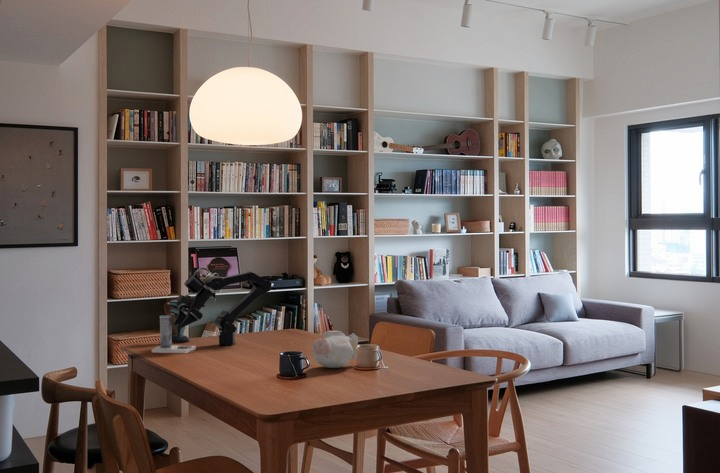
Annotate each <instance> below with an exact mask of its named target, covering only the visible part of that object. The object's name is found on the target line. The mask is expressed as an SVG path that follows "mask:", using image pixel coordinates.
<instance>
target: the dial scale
mask: <svg viewBox="0 0 720 473" xmlns="http://www.w3.org/2000/svg"><path fill="white" fill-rule="evenodd" d="M196 348H197V346H196V345H172V347H171V348H160V345H159V346H158V345H157V346H156V347H155V348H152V349H151V353H155V354H156V353H160V354H161V353H162V354H165V353H167V354H168V353H169V354H187V353H190V352H192V351H194V350H196Z"/></svg>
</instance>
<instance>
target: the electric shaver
mask: <svg viewBox="0 0 720 473" xmlns="http://www.w3.org/2000/svg"><path fill="white" fill-rule="evenodd" d="M177 300H178V299H172V300H170V301H169V302H166V303H164V304H163V310H164V313H165V314H166V315H171V316H172V315H173V316H174V317H175V319H176V318H177V316H178V308H177V307H178V306H179V305H180V304H184V303H182V302H178V301H177ZM167 305H169V306H170V307H172V308H170V312H168V311H167ZM184 305H185V304H184ZM182 322H183V321H182ZM182 322H180V323H179V324H177V325H176V330H177V334H173V335H172V344H187V343H189V342H190V339H189V337H188V336H187V335H185V328H186V326H185V327H183V328H181V327H180V326H181V324H182Z"/></svg>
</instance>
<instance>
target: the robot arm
mask: <svg viewBox="0 0 720 473" xmlns="http://www.w3.org/2000/svg"><path fill="white" fill-rule="evenodd" d="M248 281H249V282H250V283H251V284H252V287H251V290H250V291H248V293H247V294H246V295H244V296H243V297H242V298H241V299H240V300H239V301H238V302H237V303H236V304H235V305H234V306H232V307H231V309H229V310H228V311H227V310H224V309H223V310H222V311H221V312H220V313H219V314H218V315H216V318H215V319H214V323H215V326H216V328H218V331H219V335H218V346H229V347H230V346H233V345H236V344H237V342H236V341H235V340H236V339H235V338H236V337H235V336H236V334H235V333H236V332H237V327H236V326H235V324H234V323H235V321H236V319H237V317H238V316H239V315H240V314H241V313H242V312H243V311H245V310H246V309H247V308H248V307H249V306H250V305H252V303H254V302H255V300H256V299H258V298H259V297H261V296H264V295H265V294H267V293H269V292H270V291H271V290H272V282H271V281H270V280H268V279H265V278H263V277H261V276H260V275H258V274H257V273H255V271H249V270H248V271H246V272H243V273H242V272H241V273H238V274H237V273H236V274H233V275H228V276H225V277H224V276H216V277H215V276H212V277H208V278H207V280H202V279H200V278H199V276H198V275H197V274H193V275H192V276H190V277H189V278H187V279H186V280H185V282H184V286H185V287H186V288H187V289H188V290H189V291H190V292H191V293H193V294H195V293H196V295H194V296H191V295H189V294H186V295H182V294H179V296H178V298H177V299H176V300H177V301H178V302H182V303H184V304H185V305H184V304H180V305H179V306H178V307H177V308H178V316H177V318H176V317H175V320H174V322H173V325H174V326H177V324H179V323H180V322H182V321H183V322H182V324H181V326H180V327H181V328H183V327H185V328H186V327H187V326H188V325H190V324H193V323H195V322H197V321H201V319H202V318H203V316H204V315H203V312H201V309H202V308H205V307H206V305H205V304H207V302H208V301H209V300H210V298H211V299H213V300H214V299H216V298H217V297H216V295H217V294H216V292H213V291H219V290H221V289H224V288H226V287H227V286H229V285H236V284H240V283H242V282H248Z"/></svg>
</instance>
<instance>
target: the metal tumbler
mask: <svg viewBox="0 0 720 473" xmlns="http://www.w3.org/2000/svg"><path fill="white" fill-rule="evenodd" d="M172 317H173V316H172V315H171V314H166V315H165V314H164V315H163V314H162V315H159V332H160V333H159V336H160V337H159V338H160V340H159V343H160V344H159V346H160V348H171V347H172V346H173V343H172V336H173V335H172V333H173V332H172V329H173V328H172V327H173V326H172V325H173V324H172V322H173V321H172V320H173V319H172Z"/></svg>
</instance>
